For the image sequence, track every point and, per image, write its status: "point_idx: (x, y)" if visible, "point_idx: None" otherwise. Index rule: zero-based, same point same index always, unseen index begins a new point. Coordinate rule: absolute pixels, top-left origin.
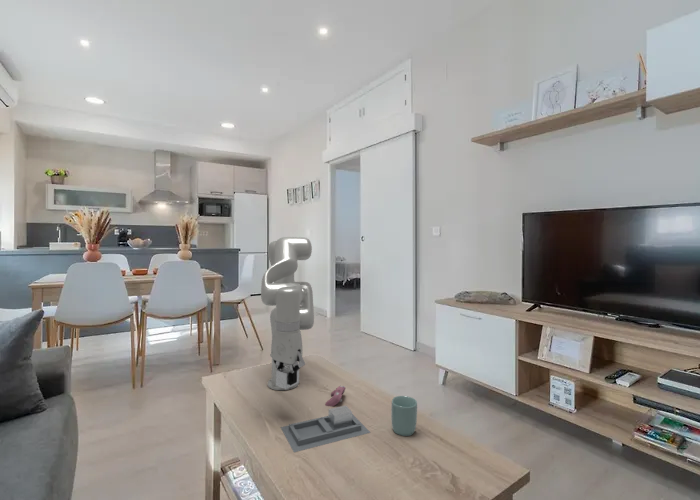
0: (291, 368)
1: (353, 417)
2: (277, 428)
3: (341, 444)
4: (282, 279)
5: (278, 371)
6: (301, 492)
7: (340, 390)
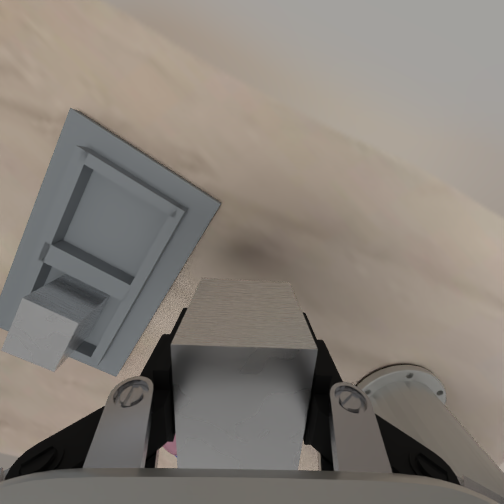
0: (117, 424)
1: None
2: (237, 206)
3: None
4: None
5: (281, 344)
6: None
7: None
